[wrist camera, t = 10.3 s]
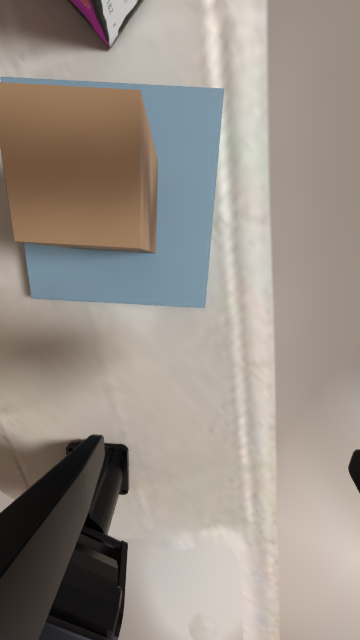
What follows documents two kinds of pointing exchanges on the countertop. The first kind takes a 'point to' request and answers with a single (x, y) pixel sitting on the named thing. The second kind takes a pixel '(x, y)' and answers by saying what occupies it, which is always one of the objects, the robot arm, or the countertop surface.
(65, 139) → the walnut cube
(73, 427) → the countertop surface
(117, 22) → the candy bar box
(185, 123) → the slate board
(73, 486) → the robot arm
